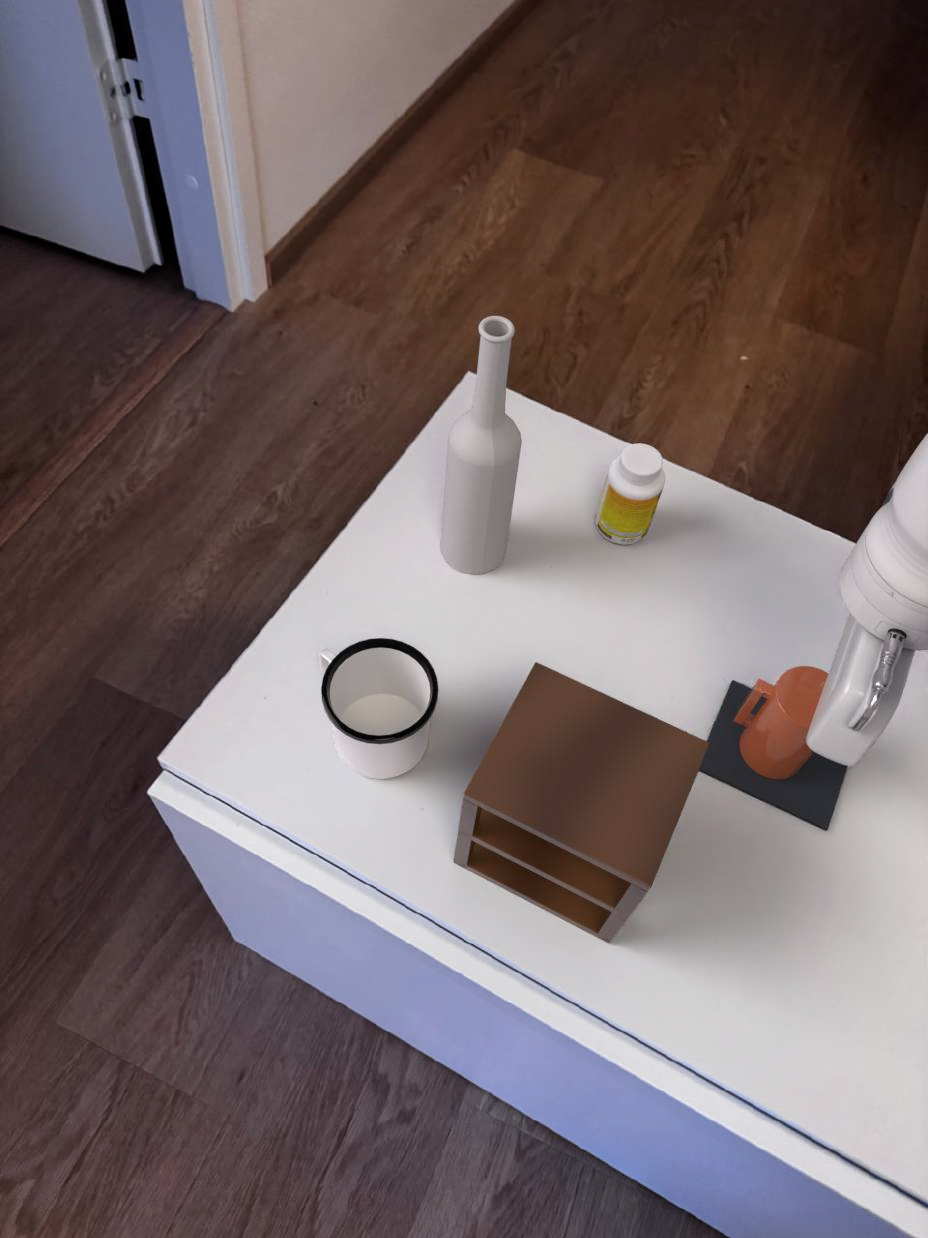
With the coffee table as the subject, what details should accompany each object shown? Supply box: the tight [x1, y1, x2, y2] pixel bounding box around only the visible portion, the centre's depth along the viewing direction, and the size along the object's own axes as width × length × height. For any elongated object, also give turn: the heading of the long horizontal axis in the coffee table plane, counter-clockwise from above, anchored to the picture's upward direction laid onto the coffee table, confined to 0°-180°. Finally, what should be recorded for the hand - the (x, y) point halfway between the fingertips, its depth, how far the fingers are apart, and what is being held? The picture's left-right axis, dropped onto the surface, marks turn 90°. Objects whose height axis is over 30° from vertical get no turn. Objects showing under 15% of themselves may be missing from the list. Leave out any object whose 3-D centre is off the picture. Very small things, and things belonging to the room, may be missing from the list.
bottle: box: [439, 315, 523, 575], centre depth 85 cm, size 7×7×28 cm
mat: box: [698, 679, 849, 832], centre depth 87 cm, size 12×10×1 cm
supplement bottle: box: [594, 442, 666, 546], centre depth 95 cm, size 6×6×10 cm
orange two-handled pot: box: [734, 665, 829, 779], centre depth 82 cm, size 8×6×10 cm
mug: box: [318, 637, 440, 780], centre depth 82 cm, size 12×10×9 cm
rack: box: [452, 661, 709, 944], centre depth 75 cm, size 14×12×15 cm
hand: (838, 683), depth 75 cm, fingers open, 8 cm apart
